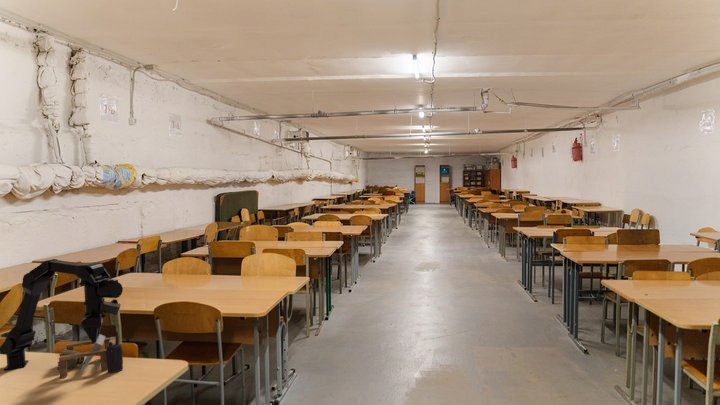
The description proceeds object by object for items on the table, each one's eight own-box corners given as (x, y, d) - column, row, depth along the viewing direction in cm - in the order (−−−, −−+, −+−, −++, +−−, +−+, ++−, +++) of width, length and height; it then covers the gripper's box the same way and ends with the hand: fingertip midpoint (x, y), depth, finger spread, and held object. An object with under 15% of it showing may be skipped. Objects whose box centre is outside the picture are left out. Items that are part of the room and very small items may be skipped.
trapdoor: (88, 361, 177) (82, 358, 176) (105, 336, 179) (99, 333, 178) (84, 371, 167) (77, 369, 166) (102, 345, 169) (96, 342, 168)
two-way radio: (123, 367, 170) (121, 329, 169) (124, 371, 166) (122, 332, 165) (106, 371, 167) (104, 332, 166) (107, 375, 163) (105, 335, 162)
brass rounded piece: (82, 355, 169) (58, 355, 166) (80, 373, 170) (55, 373, 167) (86, 346, 175) (63, 345, 172) (84, 363, 176) (61, 363, 173)
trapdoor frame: (68, 362, 176) (67, 343, 176) (117, 354, 183) (116, 336, 183) (60, 378, 162) (58, 357, 161) (113, 369, 169) (112, 349, 168)
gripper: (116, 300, 159) (118, 343, 160) (120, 289, 176) (122, 327, 177) (79, 304, 155) (82, 348, 155) (87, 292, 172) (90, 332, 172)
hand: (95, 338), depth 165 cm, fingers open, 9 cm apart
